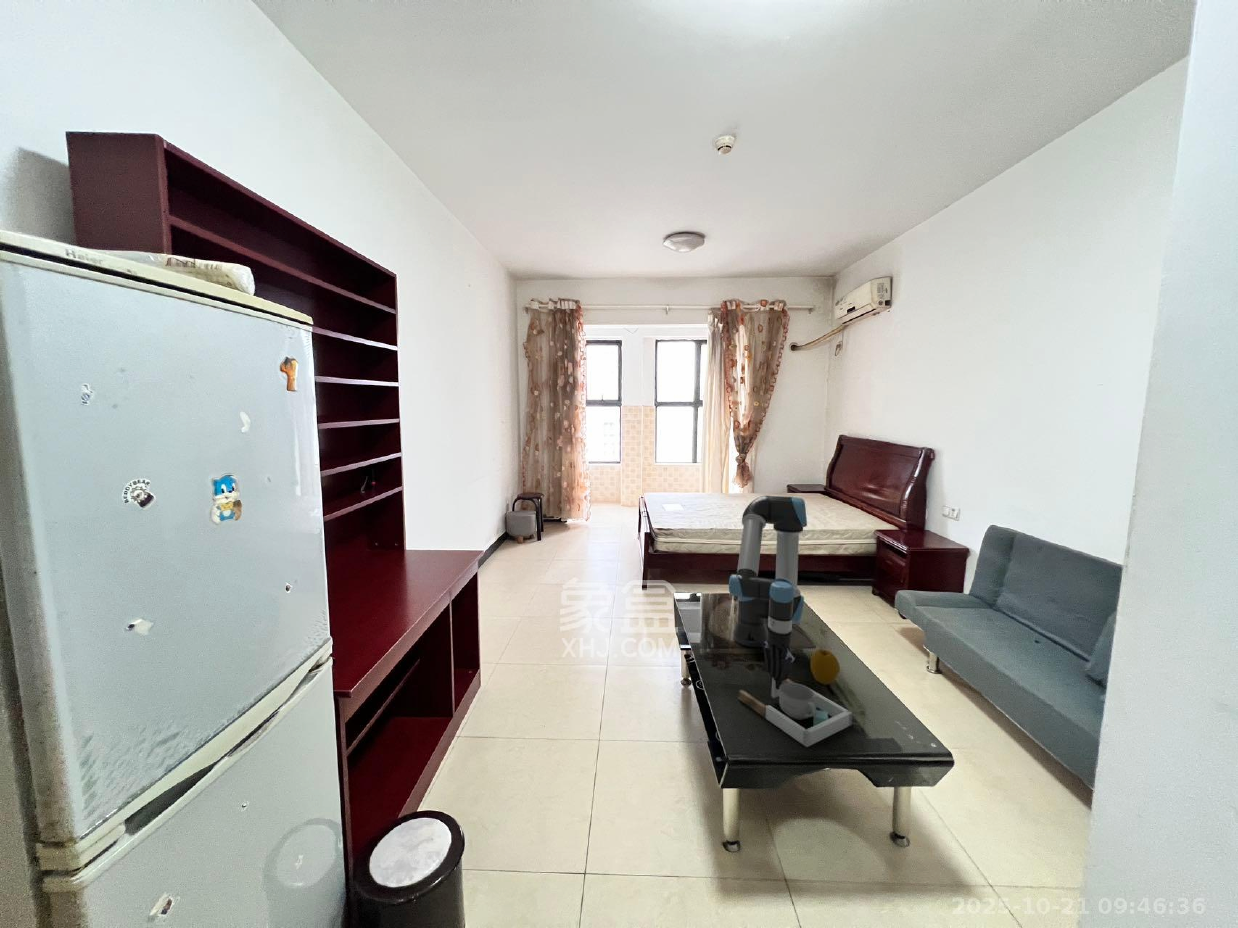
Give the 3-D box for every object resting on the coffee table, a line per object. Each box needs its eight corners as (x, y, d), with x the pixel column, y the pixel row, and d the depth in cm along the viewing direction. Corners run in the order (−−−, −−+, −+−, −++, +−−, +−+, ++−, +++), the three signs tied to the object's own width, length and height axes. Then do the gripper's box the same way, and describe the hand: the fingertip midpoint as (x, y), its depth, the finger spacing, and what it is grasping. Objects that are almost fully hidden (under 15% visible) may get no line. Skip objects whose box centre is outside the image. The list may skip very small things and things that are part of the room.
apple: (842, 681, 170) (844, 651, 169) (832, 692, 163) (833, 660, 162) (816, 671, 177) (817, 642, 176) (805, 681, 170) (806, 650, 169)
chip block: (813, 728, 143) (813, 716, 143) (813, 721, 147) (813, 709, 147) (827, 731, 142) (828, 719, 141) (827, 724, 145) (827, 712, 145)
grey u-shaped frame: (765, 718, 148) (766, 706, 148) (809, 699, 159) (809, 688, 158) (806, 747, 135) (807, 734, 134) (851, 724, 145) (852, 712, 145)
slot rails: (738, 699, 159) (738, 690, 158) (781, 682, 169) (781, 675, 169) (765, 718, 148) (765, 709, 148) (809, 699, 159) (809, 691, 158)
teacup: (773, 704, 156) (773, 681, 155) (804, 703, 157) (804, 680, 156) (792, 731, 142) (793, 706, 141) (826, 729, 143) (827, 704, 142)
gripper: (757, 623, 159) (753, 689, 161) (786, 639, 148) (782, 709, 150) (772, 619, 163) (768, 683, 165) (802, 634, 152) (798, 703, 154)
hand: (775, 696), depth 157 cm, fingers closed
